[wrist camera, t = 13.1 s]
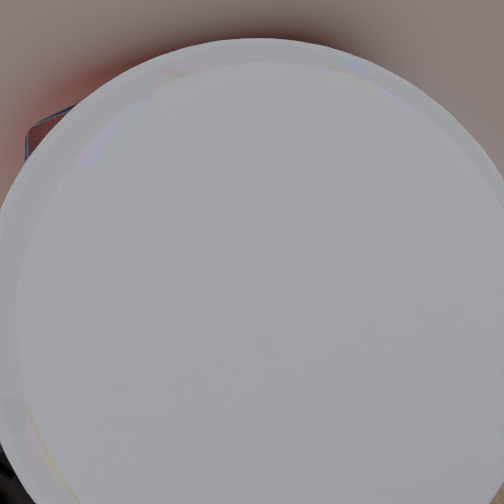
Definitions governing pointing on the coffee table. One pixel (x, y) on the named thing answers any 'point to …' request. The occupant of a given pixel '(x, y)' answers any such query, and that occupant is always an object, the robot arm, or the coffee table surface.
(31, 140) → the coffee table surface
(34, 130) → the coffee table surface
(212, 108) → the coffee cup
